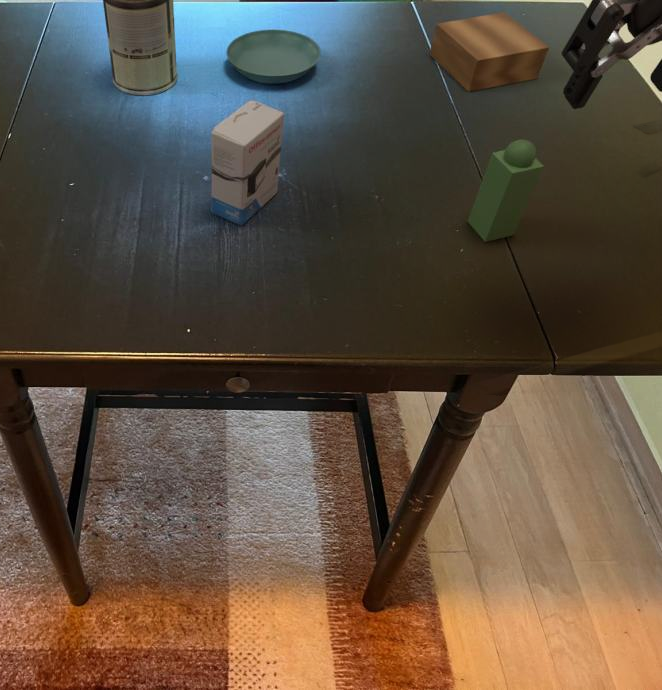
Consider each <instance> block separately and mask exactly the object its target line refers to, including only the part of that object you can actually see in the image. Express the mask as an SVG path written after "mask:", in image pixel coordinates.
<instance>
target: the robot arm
mask: <svg viewBox="0 0 662 690" xmlns="http://www.w3.org/2000/svg"><path fill="white" fill-rule="evenodd" d="M625 25H626V27H627V30H628V32H629V34H630V35H631V36H632V37H633V39H632V40H630V41H627V42H625V40H624V39H623V38H622V37H621V36H620V31H621V29H622V28H623V27H624V26H625ZM660 42H662V0H591V1H590V3H589V5H588V6H587V8H586V10H585V11H584V12H583V15H582V17H581V18H580V20H579V22H578V23H577V25H576V27H575V29H574V30H573V32H572V34H571V35H570V37H569V39H568V41H567V42H566V44H565V45H564V47H563V49H562V51H561V56H562V57H563V59H564V60H565V62H567V64H568V66H569V67H570V68H571V70H572V73H571V75H570V77H569V78H568V81H567V82H566V84H565V86H564V88H563V90H562V91H563V92H562V94H563V96H564V98H565V99H566V101H567V102H568V104H569V105H570V107H571V108H572V109H574V110H577V109H583V108H584V107H586V104H587V103H588V101H589V100H590V98H591V96H593V93H594V91H595V90H596V88H597V86H598V85H599V84H600V82H601V80H602V78H603V75H604V73H606V72H607V71H608V70H610V69H611V68H613V66H615V65H616V64H617V63H618V62H620V61H621V60H627V61H628V60H630V59H631V58H633V57H634V56H635V55H637V54H638V53H640V51H642V50H643V49H644V48H645V47H646V46H650V45H651V46H652V45H655V44H657V43H660ZM583 45H584V47H582V46H583ZM608 45H611V47H612V49H611V50H610V51H609V52H608V53H607V54H605V55H604V56H603V57H602V58H601V57H600V56H599V54H600V53H601V51H602V50H603V49H605V48H606V47H607V46H608ZM649 78H650V82H651V83H652V85H654V87H655V88H656V89H657V91H658V92H660V93H662V58H661V59H660V61H659V62H658V63H657V65H656V66H655V68H654V69H653V70H652V72H651V74H650V77H649Z"/></svg>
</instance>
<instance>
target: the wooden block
mask: <svg viewBox="0 0 662 690" xmlns="http://www.w3.org/2000/svg"><path fill="white" fill-rule="evenodd" d="M549 49H550V47H549V46H548V45H547V44H546V43H544V42H543V41H542V40H540V39H539V38H538V37H537V36H535V35H534V34H533V33H531V32H530V31H529V30H528V29H526V28H525V27H524V26H522V25H521V24H520V23H518V22H517V21H516V20H514V19H513V18H512V17H511V16H509V15H508V14H507V13H506V12H498V13H492V14H486V15H479V16H475V17H468V18H462V19H457V20H451V21H445V22H438V23H436V24H435V28H434V33H433V38H432V41H431V46H430V49H429V53H428V55H429V56H430V57H431V58H432V59H433V60H434V61H435V62H436V63H437V64H438V65H440V67H442V69H443V70H445V72H447V73H448V75H450V77H452V78H453V79H454V80H455V81H456V82H457V83H458V84H459V85H461V87H462V88H464V89H465V90H466V91H467V92H468V93H470V92H475V91H476V92H477V91H481V90H486V89H491V88H495V87H501V86H507V85H511V84H517V83H523V82H528V81H532V80H537V79H538V77H539V75H540V72H541V70H542V67H543V65H544V62H545V59H546V57H547V54H548V52H549Z"/></svg>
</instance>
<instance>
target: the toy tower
mask: <svg viewBox="0 0 662 690" xmlns="http://www.w3.org/2000/svg"><path fill="white" fill-rule="evenodd" d="M536 156H537V150H536V146H535V145H534V144H533V142H531V141H530V140H527V139H516V140H514V141H512V142H511V143H510V144H508V145H507V146H506V148H505V149H503V150H499V151H494V152H492V153H491V156H490V158H489V161H488V163H487V166H486V169H485V172H484V174H483V178H482V180H481V183H480V185H479V188H478V191H477V193H476V197H475V199H474V202H473V205H472V208H471V210H470V214H469V216H468V219H467V223H468V224H469V225H470V227H471V228H473V230H474V231H475V233H477V235H478V236H479V237H480V238H481V240H483V242H485V243H487V242H491V241H496V240H499V239H504V238H507V237H513V236H514V235H515V233H516V231H517V229H518V226H519V225H520V222H521V220H522V217H523V215H524V213H525V210H526V208H527V206H528V204H529V203H530V199H531V197H532V195H533V193H534V190H535V188H536V186H537V183H538V181H539V179H540V177H541V174H542V172H543V170H544V167H545V166H544V164H542V162H540V161H539V159H537V158H536Z"/></svg>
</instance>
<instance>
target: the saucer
mask: <svg viewBox="0 0 662 690" xmlns="http://www.w3.org/2000/svg"><path fill="white" fill-rule="evenodd" d="M321 56H322V51H321V48H320V45H319V44H318V43H317V42H316V41H315V40H314V39H313V38H311V37H309V36H307V35H305V34H303V33H299V32H296V31H291V30H285V29H262V30H261V29H260V30H254V31H250V32H246V33H244V34H242V35H239V36H238V37H236V38H234V39H233V40H232V41H231V42H230V43H229V44H228V46H227V47H226V57H227V59H228V61H229V63H230V64H231V65H232V66H233V68H234V69H235V70H237V72H238V73H240V74H241V75H242V76H243V77H245V78H247V79H249V80H251V81H253V82H256V83H262V84H269V85H270V84H272V85H277V84H278V85H279V84H284V83H285V84H286V83H289V82H293V81H296V80H297V79H300V78H301V77H303V76H304V75H306V74H307V73H309V72H311V70H312V69H313V68H314V67H315V66H316V65H317V63H318V62H319V61H320V59H321Z"/></svg>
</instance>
